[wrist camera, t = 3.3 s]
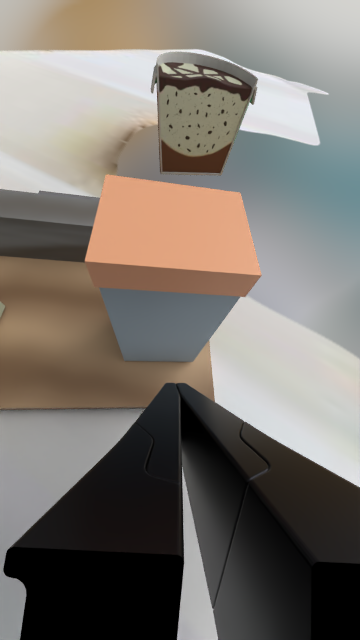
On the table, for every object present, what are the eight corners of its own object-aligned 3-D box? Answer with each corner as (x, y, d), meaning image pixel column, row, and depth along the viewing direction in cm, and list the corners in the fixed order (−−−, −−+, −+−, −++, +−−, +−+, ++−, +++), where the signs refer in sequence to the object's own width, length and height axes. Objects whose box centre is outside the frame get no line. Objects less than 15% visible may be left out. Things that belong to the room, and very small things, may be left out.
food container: (217, 153, 34) (242, 59, 25) (230, 175, 32) (262, 79, 23) (143, 150, 31) (142, 42, 23) (150, 173, 29) (152, 63, 20)
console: (209, 407, 16) (237, 398, 11) (-134, 411, 13) (-306, 403, 8) (197, 259, 23) (211, 214, 18) (-29, 239, 20) (-86, 178, 15)
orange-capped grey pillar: (194, 363, 15) (261, 275, 6) (122, 362, 15) (84, 261, 6) (191, 314, 17) (240, 192, 8) (128, 310, 17) (106, 174, 8)
